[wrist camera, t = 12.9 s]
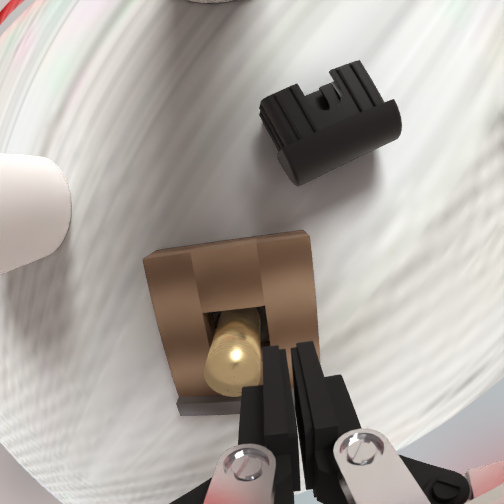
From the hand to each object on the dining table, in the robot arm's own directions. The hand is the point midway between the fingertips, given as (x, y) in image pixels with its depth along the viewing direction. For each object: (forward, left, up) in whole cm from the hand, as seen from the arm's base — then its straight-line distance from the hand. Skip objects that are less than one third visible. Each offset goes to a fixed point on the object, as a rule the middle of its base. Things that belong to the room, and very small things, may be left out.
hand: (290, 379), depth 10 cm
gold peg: (+6, -4, -20) cm, 21 cm away
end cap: (-11, +6, -20) cm, 24 cm away
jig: (+6, -4, -20) cm, 21 cm away
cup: (-9, -25, -20) cm, 34 cm away
